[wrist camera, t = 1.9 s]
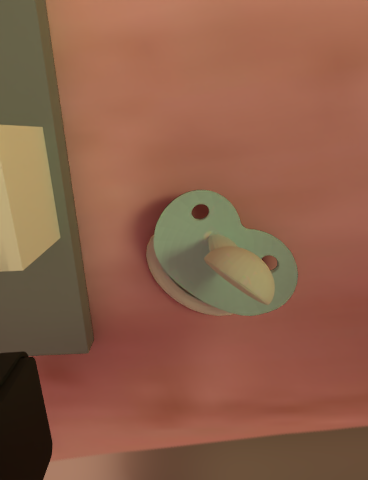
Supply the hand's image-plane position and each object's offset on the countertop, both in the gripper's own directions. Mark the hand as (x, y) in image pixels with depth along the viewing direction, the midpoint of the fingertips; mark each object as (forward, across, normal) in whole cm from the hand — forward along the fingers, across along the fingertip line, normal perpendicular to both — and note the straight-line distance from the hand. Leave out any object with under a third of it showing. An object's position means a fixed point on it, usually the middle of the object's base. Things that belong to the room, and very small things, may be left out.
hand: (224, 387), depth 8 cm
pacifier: (+10, -1, 0) cm, 10 cm away
